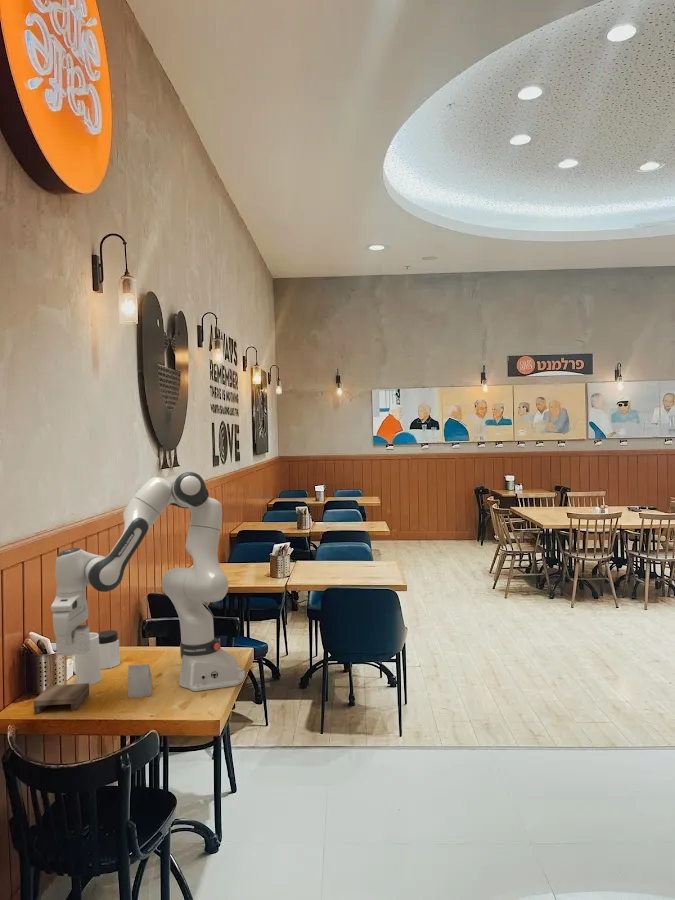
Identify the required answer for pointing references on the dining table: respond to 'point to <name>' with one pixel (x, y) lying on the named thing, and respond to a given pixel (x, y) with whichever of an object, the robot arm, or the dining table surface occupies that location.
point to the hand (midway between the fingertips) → (73, 642)
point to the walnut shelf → (62, 696)
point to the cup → (89, 663)
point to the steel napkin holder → (74, 642)
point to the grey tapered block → (139, 681)
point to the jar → (109, 649)
